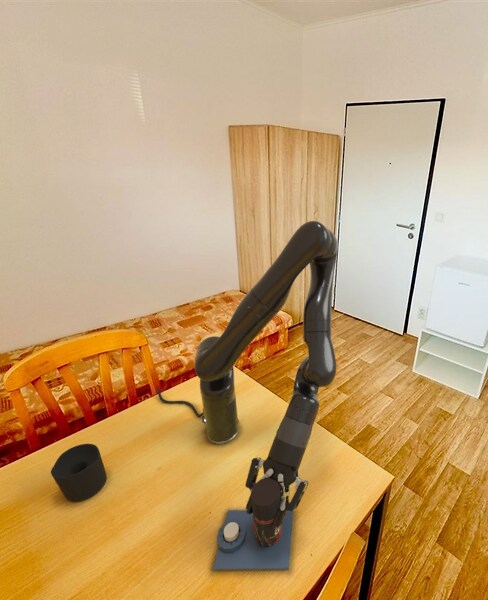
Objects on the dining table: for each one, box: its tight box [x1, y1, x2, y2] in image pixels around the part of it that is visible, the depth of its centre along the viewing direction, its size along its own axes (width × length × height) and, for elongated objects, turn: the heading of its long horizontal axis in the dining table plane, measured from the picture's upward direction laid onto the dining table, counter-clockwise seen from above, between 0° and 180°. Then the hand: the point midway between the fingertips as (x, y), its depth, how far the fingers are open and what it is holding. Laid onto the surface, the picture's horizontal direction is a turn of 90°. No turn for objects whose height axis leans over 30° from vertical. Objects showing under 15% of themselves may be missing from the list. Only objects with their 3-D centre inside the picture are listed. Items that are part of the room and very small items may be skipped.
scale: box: [212, 509, 295, 572], centre depth 72 cm, size 17×12×2 cm
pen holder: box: [50, 443, 108, 503], centre depth 79 cm, size 9×9×10 cm
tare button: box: [224, 522, 239, 542], centre depth 71 cm, size 3×3×2 cm
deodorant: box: [250, 478, 281, 548], centre depth 69 cm, size 6×6×15 cm
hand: (262, 519), depth 67 cm, fingers closed on deodorant, 6 cm apart
